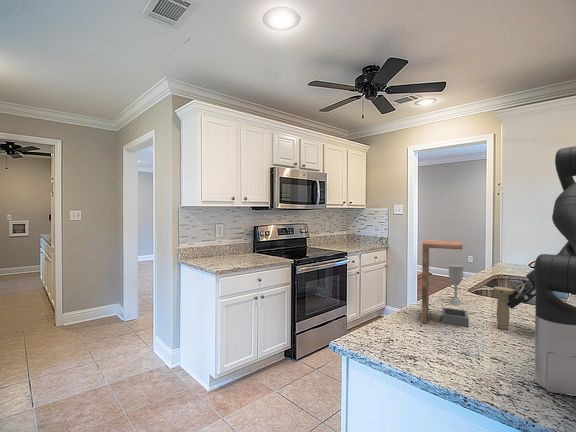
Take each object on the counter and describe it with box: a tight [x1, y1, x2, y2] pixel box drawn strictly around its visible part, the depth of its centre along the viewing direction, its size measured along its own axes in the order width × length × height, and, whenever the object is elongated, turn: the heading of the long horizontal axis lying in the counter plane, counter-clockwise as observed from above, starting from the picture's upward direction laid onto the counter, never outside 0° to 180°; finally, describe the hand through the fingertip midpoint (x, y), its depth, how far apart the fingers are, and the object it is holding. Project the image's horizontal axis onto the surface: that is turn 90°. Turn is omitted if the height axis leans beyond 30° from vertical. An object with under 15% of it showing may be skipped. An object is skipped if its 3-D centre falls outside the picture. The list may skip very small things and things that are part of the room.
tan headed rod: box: [492, 286, 514, 330], centre depth 117 cm, size 5×6×15 cm
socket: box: [441, 307, 470, 328], centre depth 124 cm, size 10×9×4 cm
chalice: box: [447, 264, 465, 306], centre depth 148 cm, size 7×7×18 cm
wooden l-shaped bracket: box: [421, 239, 463, 325], centre depth 126 cm, size 18×14×32 cm
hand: (506, 303), depth 116 cm, fingers open, 8 cm apart
